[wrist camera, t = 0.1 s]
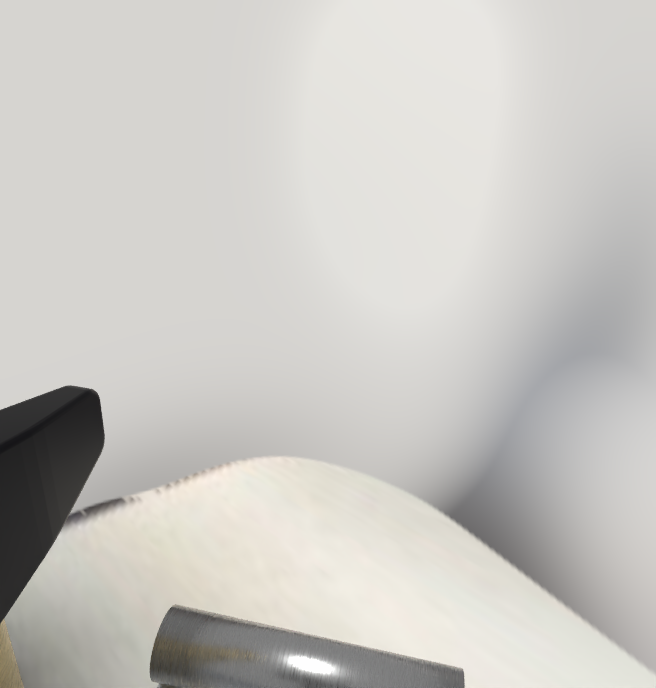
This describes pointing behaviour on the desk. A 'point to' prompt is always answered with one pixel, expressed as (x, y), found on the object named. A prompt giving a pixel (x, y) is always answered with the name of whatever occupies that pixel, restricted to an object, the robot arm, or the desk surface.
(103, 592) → the desk surface
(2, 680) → the pin
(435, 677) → the metal roller frame
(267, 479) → the desk surface
